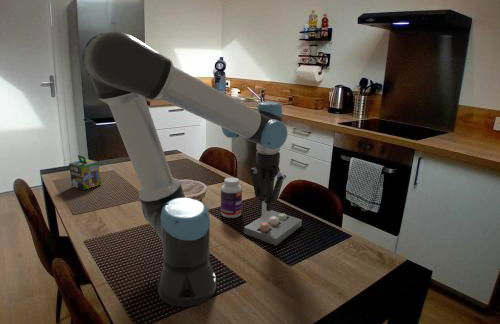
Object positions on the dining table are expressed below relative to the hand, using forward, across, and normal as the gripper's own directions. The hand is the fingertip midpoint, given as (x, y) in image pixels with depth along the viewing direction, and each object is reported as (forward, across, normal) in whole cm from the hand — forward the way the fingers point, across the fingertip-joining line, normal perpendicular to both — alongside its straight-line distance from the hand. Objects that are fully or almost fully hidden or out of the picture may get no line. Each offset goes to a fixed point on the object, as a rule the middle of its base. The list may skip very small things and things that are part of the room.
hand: (265, 218), depth 118 cm
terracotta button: (+5, 0, 0) cm, 5 cm away
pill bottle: (+7, +20, -6) cm, 22 cm away
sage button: (+6, 0, -12) cm, 13 cm away
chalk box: (+7, +89, +13) cm, 90 cm away
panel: (+7, 0, -6) cm, 9 cm away
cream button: (+5, 0, -6) cm, 8 cm away
